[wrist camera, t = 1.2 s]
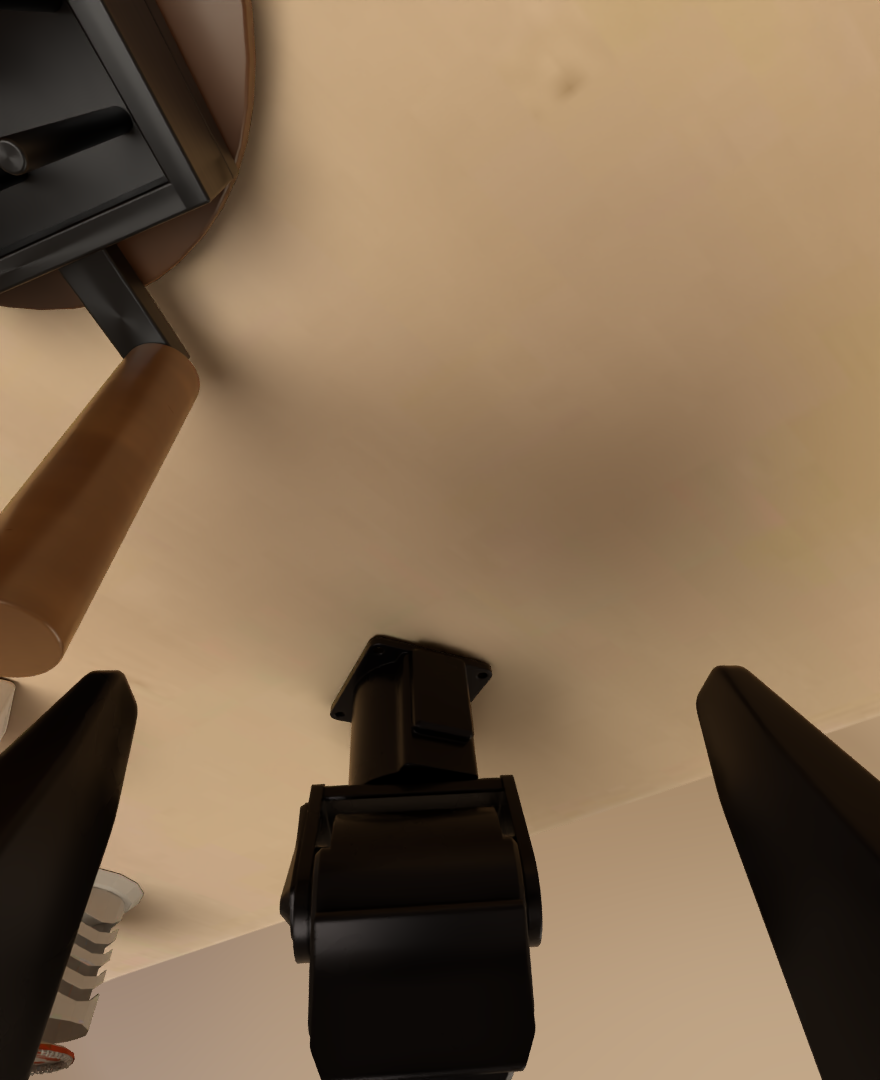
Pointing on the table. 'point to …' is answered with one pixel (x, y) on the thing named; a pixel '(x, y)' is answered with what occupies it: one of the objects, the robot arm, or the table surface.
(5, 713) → the ink box
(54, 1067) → the grey slotted cylinder
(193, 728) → the table surface
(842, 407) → the table surface
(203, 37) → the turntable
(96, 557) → the dish rack
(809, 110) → the table surface
